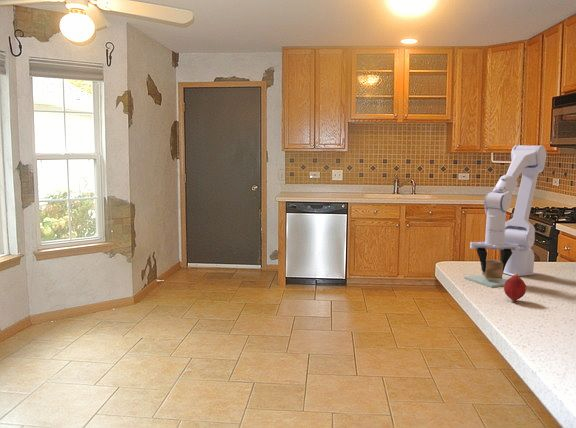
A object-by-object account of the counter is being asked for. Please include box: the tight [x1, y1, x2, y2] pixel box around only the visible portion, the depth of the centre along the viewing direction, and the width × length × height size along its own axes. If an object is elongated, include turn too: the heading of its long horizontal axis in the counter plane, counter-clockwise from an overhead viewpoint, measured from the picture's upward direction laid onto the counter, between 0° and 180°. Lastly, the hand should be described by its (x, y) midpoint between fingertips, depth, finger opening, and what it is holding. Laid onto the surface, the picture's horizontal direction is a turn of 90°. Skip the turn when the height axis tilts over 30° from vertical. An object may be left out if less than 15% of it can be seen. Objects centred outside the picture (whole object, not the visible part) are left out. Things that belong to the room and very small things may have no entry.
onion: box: [503, 273, 527, 302], centre depth 152 cm, size 6×6×8 cm
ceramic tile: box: [463, 274, 509, 288], centre depth 174 cm, size 12×12×1 cm
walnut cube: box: [481, 258, 504, 279], centre depth 174 cm, size 5×5×5 cm
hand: (492, 271), depth 174 cm, fingers closed on walnut cube, 5 cm apart
